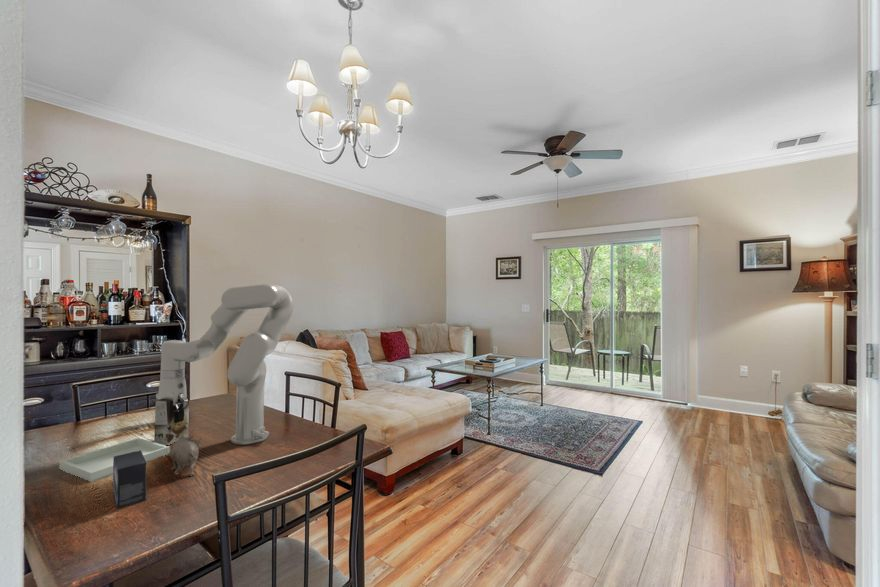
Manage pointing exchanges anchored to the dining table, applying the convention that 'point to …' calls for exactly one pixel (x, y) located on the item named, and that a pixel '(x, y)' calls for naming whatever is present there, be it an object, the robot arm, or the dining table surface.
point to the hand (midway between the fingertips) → (170, 419)
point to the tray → (110, 458)
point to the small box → (129, 478)
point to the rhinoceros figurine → (185, 453)
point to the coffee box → (169, 422)
